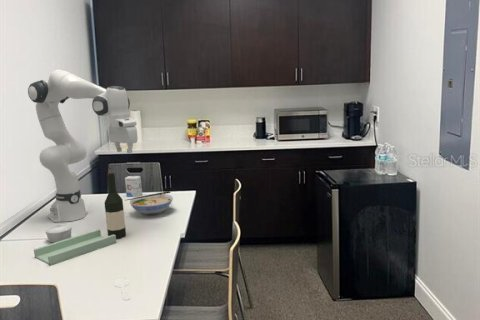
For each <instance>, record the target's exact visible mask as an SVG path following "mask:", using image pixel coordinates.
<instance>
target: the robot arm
mask: <svg viewBox="0 0 480 320" xmlns="http://www.w3.org/2000/svg"><path fill="white" fill-rule="evenodd" d="M27 94H28V97H29V99H30V100H31V101H32V102H33V103H35V110H36V115H37V119H38V122H39V125H40V127H41V130H42V133H43V135H44V137H45V139H47V140H49V141H52V142H53V143H55V144H56V145H51V146H49V147H46V148H44V149H42V150H41V152H40V153H39V162H40V164H41V165H42V167H44V168H45V169H48V171H49V172H50V173H51V174H52V176H53V178H54V179H53V180H54V182H55V188H56V192H55V200H54V202H52V204H51V205H50V208H49V211H50V212H49V213H48V214H46V217H47V218H49V219H50V220H51V221H52V222H54V223H62V222H63V223H64V222H73V221H77V220H81V219H84V218H85V217H86V215H88V214H89V211H88V210H86V206H85V200H84V198H82V192H81V189H80V183H79V177H78V175H77V174H76V173H74V172H72V171H71V170H70V168H69V165H73V164H77V163H80V162H81V161H82V160H84V159H85V158H86V157H87V149H86V146H85V145H84V144H83V143H81V142H80V141H78V140H76V139H75V138H74V137H73V136H72V135H71V134H70V132H69V131H68V129H67V127H66V124H65V122H64V119H63V116H62V114H61V111H60V110H59V104H65V102H66V101H67V100H68V99H74V100H75V99H76V100H81V99H93V100H92V102H91V103H92V104H91V106H92V110H93V112H94V114H96V115H97V116H101V117H102V116H103V117H104V116H109V121H110V124H109V126H108V139H109V142H111V143H114V146H115V148H116V152H118V153H120V152H121V153H122V152H123V151H122V150H123V149H122V148H123V147H121V145H120V144H126V146H127V149H126V153H127V154H132V153H133V146H134V144H136V143H138V140H139V137H138V129H137V127H136V126H137V125H138V123H137V120H135V119H133V118H132V117H131V113H130V112H129V109H130V106H131V102H130V98H129V96H128V95H127V91H126V88H125V87H123V86H121V85H120V86H118V85H111V86H108V87H107V88H105V87H103V86H101V85H98V84H95V83H93V82H91V81H89V80H86V79H84V78H81V77H79V76H78V75H76V74H74V73H72V72H70V71H68V70H64V69H54V70H52V71H51V73H50V74H49V77H48V79H47V80H43V79H41V80H37V81H34V82H32V83H30V84H29V86H28V88H27Z"/></svg>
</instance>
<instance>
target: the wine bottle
mask: <svg viewBox="0 0 480 320" xmlns="http://www.w3.org/2000/svg"><path fill="white" fill-rule="evenodd" d="M106 178H107V187H108V194H107V196H106V199H105V200H104V211H105V219H106V227H107V228H106V229H107V236H111V235H116V240H121V239H124V238H126V236H127V229H126V221H125V219H126V218H125V211H124V202H123V198H122V197H121V195H120V194H119V193H118V191H117V186H116V185H117V184H116V174H115V173H114V171H108V172H107V174H106Z"/></svg>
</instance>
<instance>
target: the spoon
mask: <svg viewBox="0 0 480 320" xmlns="http://www.w3.org/2000/svg"><path fill="white" fill-rule="evenodd" d="M129 283H130V280H129V279H127V278H124V277H123V278H121V277H120V278H117V279H115V280H114V281H113V286H114V287H116V288H120V291H121V294H122V300H124V301H128V300H131V296H130V294H129V292H128V290H127V288H126V286H128V285H129Z"/></svg>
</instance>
